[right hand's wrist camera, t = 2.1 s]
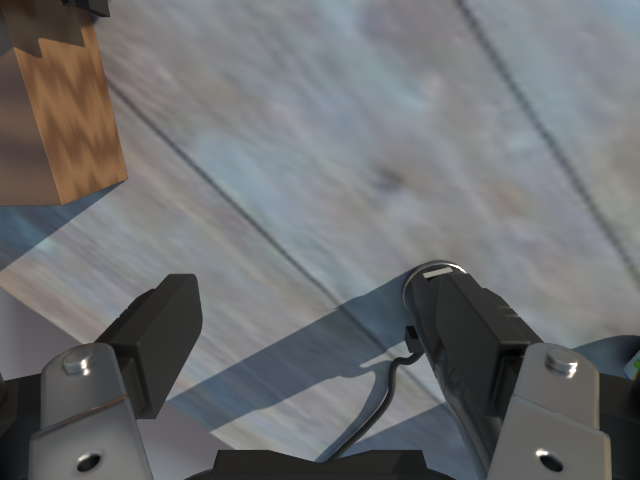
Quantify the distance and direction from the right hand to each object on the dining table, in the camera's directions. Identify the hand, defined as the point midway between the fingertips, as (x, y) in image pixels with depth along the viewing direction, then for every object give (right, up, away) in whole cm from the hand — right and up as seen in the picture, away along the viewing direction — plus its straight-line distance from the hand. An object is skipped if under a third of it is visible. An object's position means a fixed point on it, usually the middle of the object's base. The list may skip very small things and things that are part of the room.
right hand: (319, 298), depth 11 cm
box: (-26, +19, +26) cm, 42 cm away
